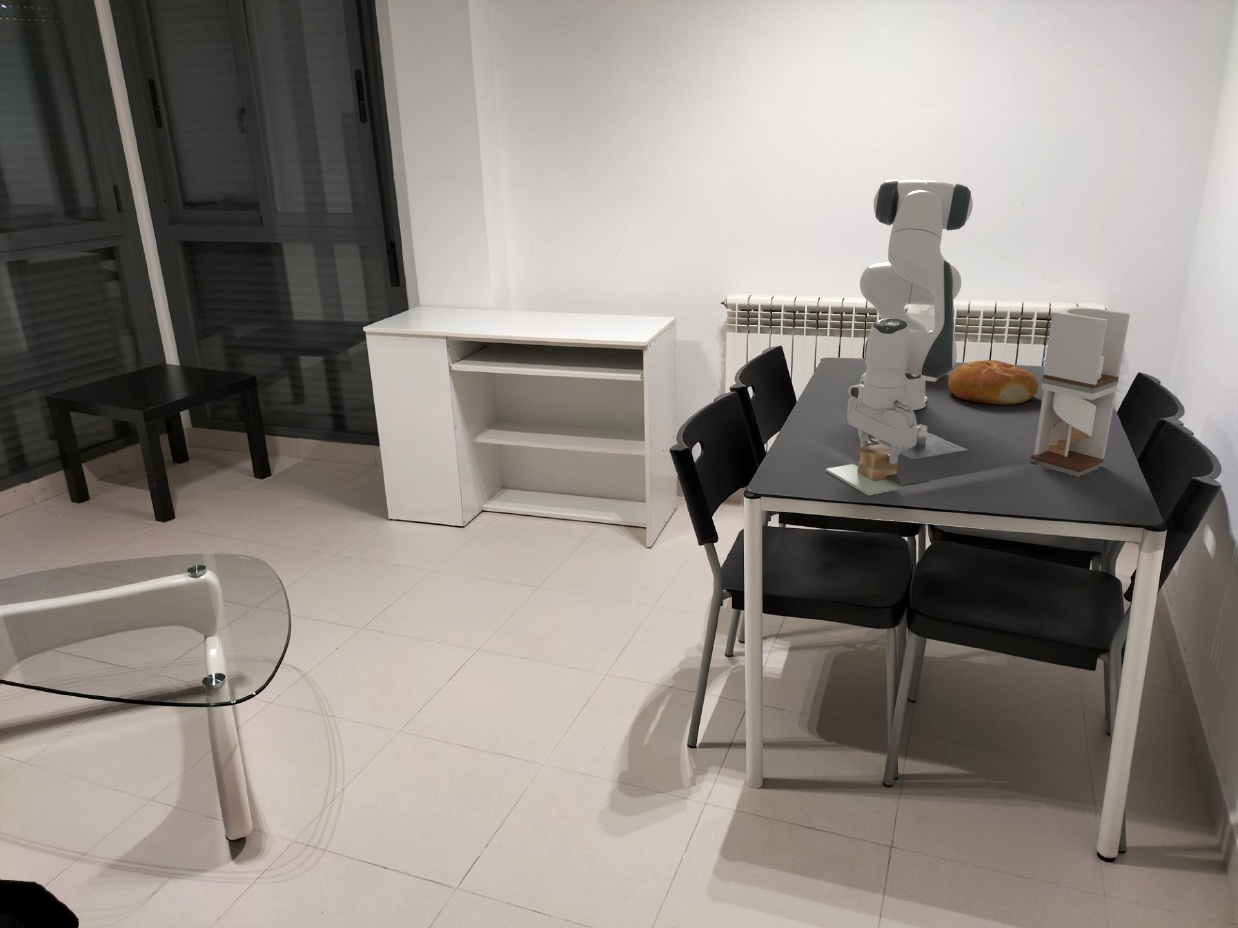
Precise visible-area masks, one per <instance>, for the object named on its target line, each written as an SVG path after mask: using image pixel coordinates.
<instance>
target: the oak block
mask: <svg viewBox="0 0 1238 928" xmlns="http://www.w3.org/2000/svg"><path fill="white" fill-rule="evenodd" d="M858 449H859V450H858V460H857V461H858V462H857V463H858V472H857V473H859V474H861V475H863V476H865V477H867V478H868V479H870V480H872V481H879V480H885V479H891V478H890V477H888V476H893V475H897V473H898V467H899V466H898V464H899V460H898V461H897V463H894V464H891V463H889V462H887V454H890V453H891V451H892V449H891V448H890V447H888V446H886V445H884V444H879V443H877V444H871V445H870V446H864V447H859V448H858ZM899 457H900V454H899V455H898V458H899Z"/></svg>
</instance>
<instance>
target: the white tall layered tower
mask: <svg viewBox="0 0 1238 928" xmlns="http://www.w3.org/2000/svg"><path fill="white" fill-rule="evenodd" d="M1130 316H1131V313H1129V312H1121V311H1113V310H1107V309H1100V308H1093V307H1086V306H1079V305H1076V306H1073V307H1069V308H1063V309H1060V310H1057V311H1053V312H1052V315H1051V322H1050V328H1049V330H1050V331H1049V336H1048V342H1047V347H1048V348H1047V347H1046V353H1045V354H1046V355H1045V358H1046V361H1045V367H1044V366H1043V367H1044V368H1043V375H1042V382H1041V390H1043V392H1042V398H1041V406H1040V411H1039V412H1040V413H1039V418H1038V427H1037V433H1036V438H1035V445H1034V446H1035V447H1034V453H1033V454H1031V456H1030V457H1031V459H1035V460H1033V461H1030V462H1029V464H1030V463H1032V464H1031V465H1033V464H1034V466H1037V465H1040V466H1042V467H1041V468H1044V467H1046V468H1045V469H1047V468H1049V469H1048V470H1051V469H1053V470H1052V471H1054V470H1056V471H1055V472H1058V471H1061V472H1065V473H1067V474H1066V475H1068V474H1072V475H1074V476H1073V477H1075V476H1081V475H1083V474H1085V475H1087V474H1088V473H1087V472H1090V471H1092V472H1094V471H1096V470H1099V469H1100V468H1099V467H1101V468H1102V466H1103V465H1104V462H1105V461H1104V460H1105V455H1106V449H1107V443H1108V438H1109V433H1110V429H1111V421H1112V418H1113V417H1112V416H1113V411H1114V405H1115V399H1116V395H1117V390H1118V389H1117V388H1118V382H1119V377H1120V373H1121V372H1120V371H1121V367H1122V360H1123V355H1124V350H1125V344H1126V338H1127V334H1128V328H1129V321H1130ZM1040 466H1039V467H1040ZM1095 469H1096V470H1095ZM1093 470H1094V471H1093ZM1061 472H1060V473H1061ZM1065 473H1064V474H1065ZM1086 473H1087V474H1086ZM1090 473H1091V472H1090ZM1072 475H1071V476H1072ZM1083 476H1084V475H1083ZM1081 477H1082V476H1081Z"/></svg>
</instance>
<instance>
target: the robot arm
mask: <svg viewBox="0 0 1238 928" xmlns="http://www.w3.org/2000/svg"><path fill="white" fill-rule="evenodd" d="M971 192H972V191H971V190H970V189H969V188H968V187H967V186H966V185H963V184H960V183H954V184H953V183H949V182H944V181H937V180H932V179H931V180H929V179H927V180H925V179H924V180H922V179H919V180H918V179H905V180H899V179H898V178H897V179H895V178H894V179H887V180H885V181H884V182H883V183H881V184H880V186H879V188H878V189H877V191H876V193H875V195H874V199H873V210H874V214H875V216H874V217H875V218H876V220H877V221H878V222H879V223H881V224H884V225H886V226H891V225H892V228H891V232H890V236H889V242H888V250H887V260H888V261H886V262H885V261H884V262H881V263H874V264H869V265H868V266H866V268H865V269H864V270H863V271H862V273H861V277H860V279H859V288H860V293H861V295H862V296H863V297H864V299H865V300H866V301H867V302H868V303H870V304H871V305H872V306H873V307H874V308H875V310H876V311H877V313H878V315H879V316H880V319H877V320H875V321H874V322H873V323H872V324H871V327H870V330H869V334H868V338H867V339H866V341H865V346H864V347H865V348H864V363H865V367H866V371H865V372H864V373H863V374H861V376H860V380H859V383H858V384H855V385H850V386H849V387H848V395H849V397H848V400H847V411H846V412H847V413H846V419H847V422H848V424H849V425H850V426H851V427H854V428H855V429H857V434H858V437H859V440H860V447H864V446H870V445H872V441H870V438H869V435H870V436H873V437H874V438H878V439H881V440H883V441H885V442H887V443H889V444H891V449H892V451H891V453H890V454H887V462H889V463H891V464H894V463H897V461H898V462H899V457H898V455H899V456H900V455H901V454H900V452H901V451H902V450H903V449H909V448H913V447H914V446H915V445H916V442H917V424H918V423H917V422H918V421H917V417H916V413H915V412H914V411H916V410H917V411H918V410H921V409H923V408H925V407H926V402H928V396H926V380H925V376H928V377H933V378H939V379H940V378H941V377H943V376H945V375H948V374H949V373H950V372H952V371H953V370H954V366H956V362H957V355H958V348H957V343H956V337H955V321H954V320H955V318H954V315H955V314H954V313H955V312H954V309H955V308H954V300H955V299H956V298H957V296H959V293H960V291H961V288H962V277H961V274H960V272H959V270H958V269H957V267H956V266H954V265H953V264H951V263H950V262H948V261H947V260H946V259H945V258H944V256H943V255H942V251H941V244H942V243H941V242H942V237H943V230H946V231H956V230H960V229H961V228H963V227H964V226H965V225H966V223H967V221H968V220H969V218H970V216H971V214H972V211H973V208H974V207H973V204H974V203H973V202H974V201H973V197H972V193H971ZM911 304H918V305H935V327H934V329H932V330H929V331H927V330H926V327H925V325H924V324H923V323H922V322H921V321H920V320H918V319H917V318H915V317H913V316H911V315H909V314H907V313H906V312H907V311H906V310H905V309H906V308H905V306H907V305H911Z"/></svg>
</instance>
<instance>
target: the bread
mask: <svg viewBox="0 0 1238 928" xmlns="http://www.w3.org/2000/svg"><path fill="white" fill-rule="evenodd" d="M947 380H948V381H947V382H948V383H947V385H948V388H949V391H950V393H952V395H954V396H955V397H957V398H958V399H961V400H964V401H967V402H974V403H981V404H987V405H988V404H989V405H996V406H998V405H1000V406H1011V405H1019V404H1023V403H1025V402H1028V401H1029V400H1031V399H1032V398H1034V397H1035V396H1036V394H1037V393H1038V390H1039V382H1038V380H1037V378H1036V377H1035V375H1033V374H1032V372H1030V371H1028V370H1027V369H1024V368H1022V367H1019V366H1017V365H1014V364H1011V363H1008V362H1003V361H1001V360H1000V361H999V360H992V359H986V360H985V359H984V360H974V361H970V362H967V363H964V364H960V365H959V366H957V367H956V368H953V369H952V371H951V373H950V375H949V376H948V379H947Z"/></svg>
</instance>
